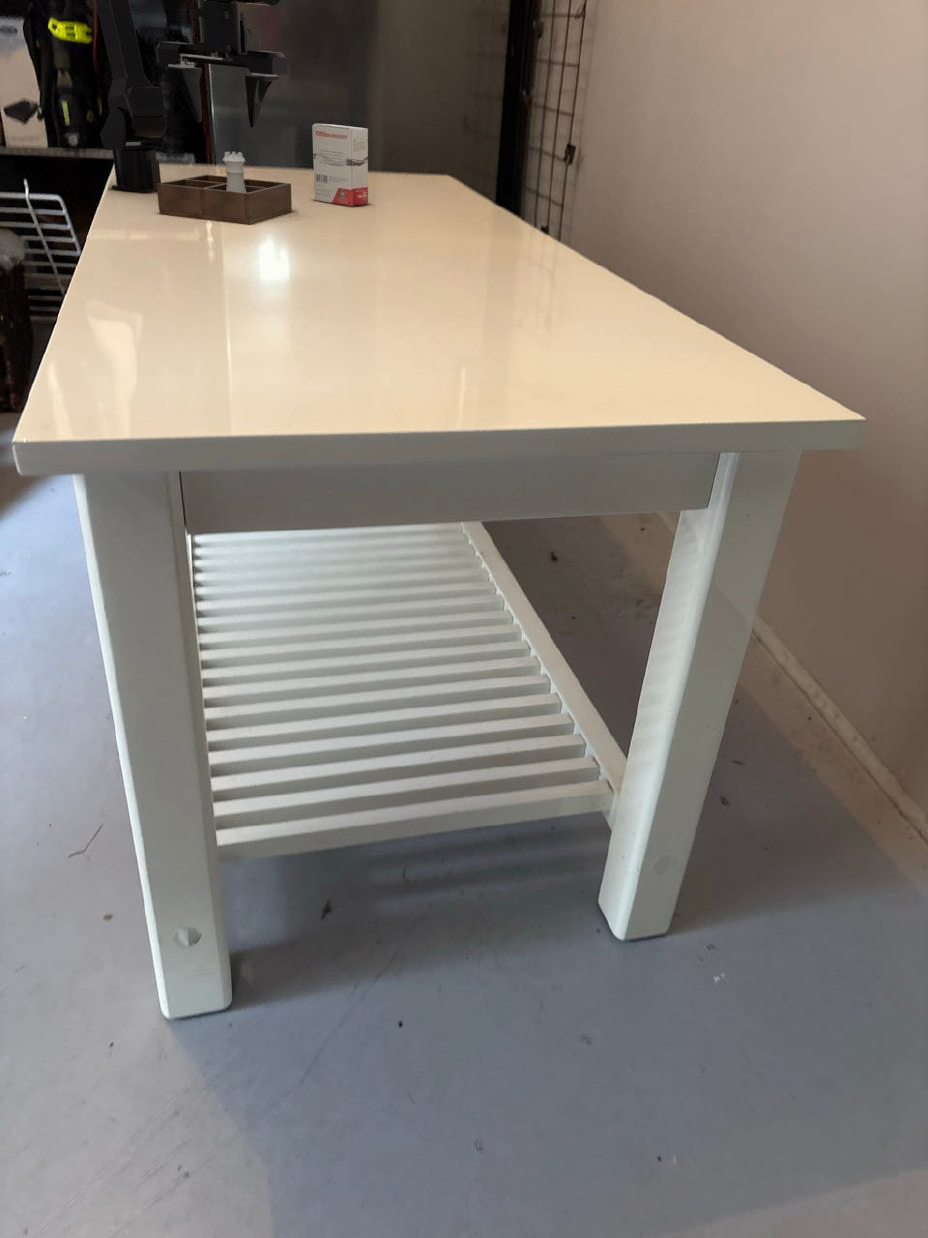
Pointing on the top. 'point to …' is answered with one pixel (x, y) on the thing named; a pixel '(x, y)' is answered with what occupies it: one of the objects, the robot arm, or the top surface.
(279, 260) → the top surface
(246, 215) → the organizer
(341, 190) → the ink box
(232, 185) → the rook chess piece
